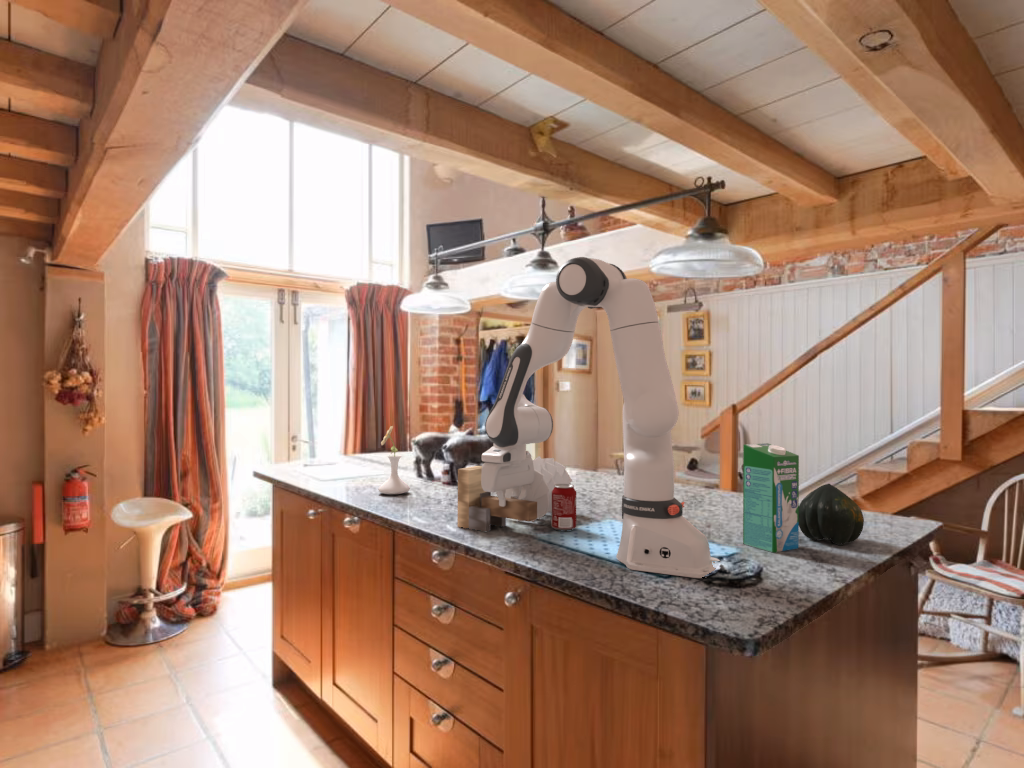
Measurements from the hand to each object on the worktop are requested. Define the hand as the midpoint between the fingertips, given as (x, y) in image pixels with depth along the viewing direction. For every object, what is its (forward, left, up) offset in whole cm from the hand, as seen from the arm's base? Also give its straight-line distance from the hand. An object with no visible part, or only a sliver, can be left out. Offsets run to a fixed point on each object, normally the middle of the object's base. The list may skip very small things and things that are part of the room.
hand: (509, 504), depth 158 cm
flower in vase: (+65, -20, -8) cm, 69 cm away
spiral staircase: (+4, -20, -8) cm, 22 cm away
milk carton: (-61, -26, -8) cm, 66 cm away
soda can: (-11, -11, -8) cm, 17 cm away
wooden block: (0, 0, -3) cm, 3 cm away
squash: (-72, -41, -8) cm, 83 cm away
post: (+9, 0, -7) cm, 12 cm away
